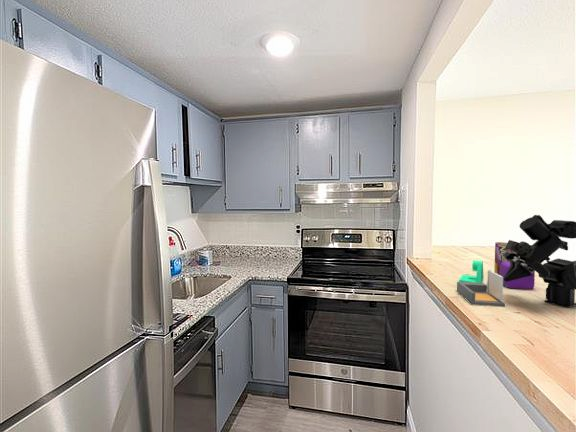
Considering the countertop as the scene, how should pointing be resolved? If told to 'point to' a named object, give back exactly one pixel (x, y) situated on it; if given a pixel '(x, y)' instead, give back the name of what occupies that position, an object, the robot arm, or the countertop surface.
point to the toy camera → (517, 283)
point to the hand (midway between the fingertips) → (504, 280)
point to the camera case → (477, 294)
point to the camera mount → (479, 277)
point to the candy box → (500, 255)
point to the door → (495, 285)
